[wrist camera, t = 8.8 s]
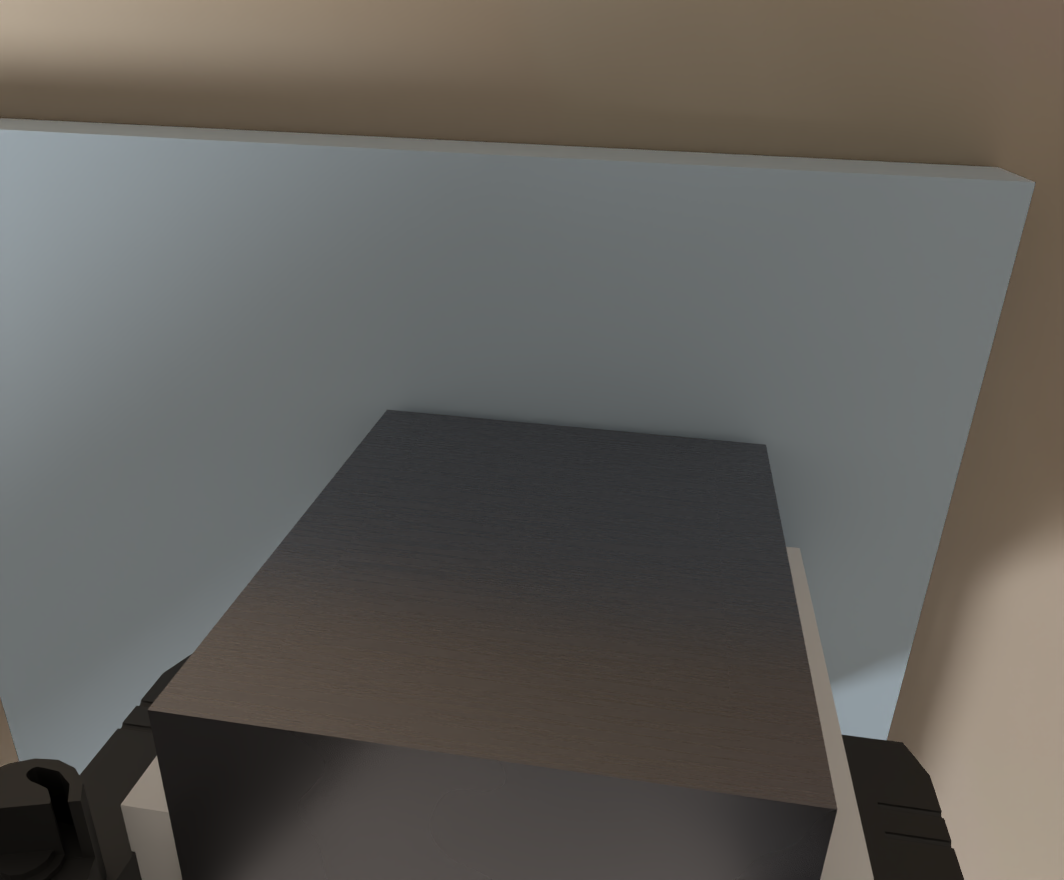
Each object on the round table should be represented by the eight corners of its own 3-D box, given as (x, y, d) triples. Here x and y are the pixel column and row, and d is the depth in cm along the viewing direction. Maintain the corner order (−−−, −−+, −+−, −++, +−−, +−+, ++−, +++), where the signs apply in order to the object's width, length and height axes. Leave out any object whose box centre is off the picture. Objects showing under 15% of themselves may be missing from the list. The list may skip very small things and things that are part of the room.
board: (65, 728, 21) (-171, 992, 15) (-94, 113, 15) (-581, 160, 9) (831, 840, 19) (899, 1202, 13) (998, 167, 13) (1261, 274, 7)
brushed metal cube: (400, 698, 17) (227, 1098, 10) (387, 409, 14) (147, 710, 8) (718, 741, 16) (739, 1203, 10) (766, 444, 13) (837, 810, 7)
